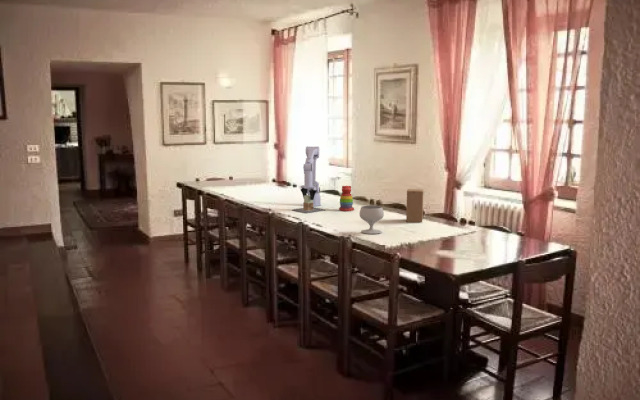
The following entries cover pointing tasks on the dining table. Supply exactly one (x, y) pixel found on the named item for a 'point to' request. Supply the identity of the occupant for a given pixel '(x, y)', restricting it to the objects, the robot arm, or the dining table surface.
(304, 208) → the walnut block
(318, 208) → the blueprint board
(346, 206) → the stacking bear
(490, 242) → the dining table surface
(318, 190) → the robot arm
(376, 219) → the chalice
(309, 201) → the sage block
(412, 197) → the wooden block
